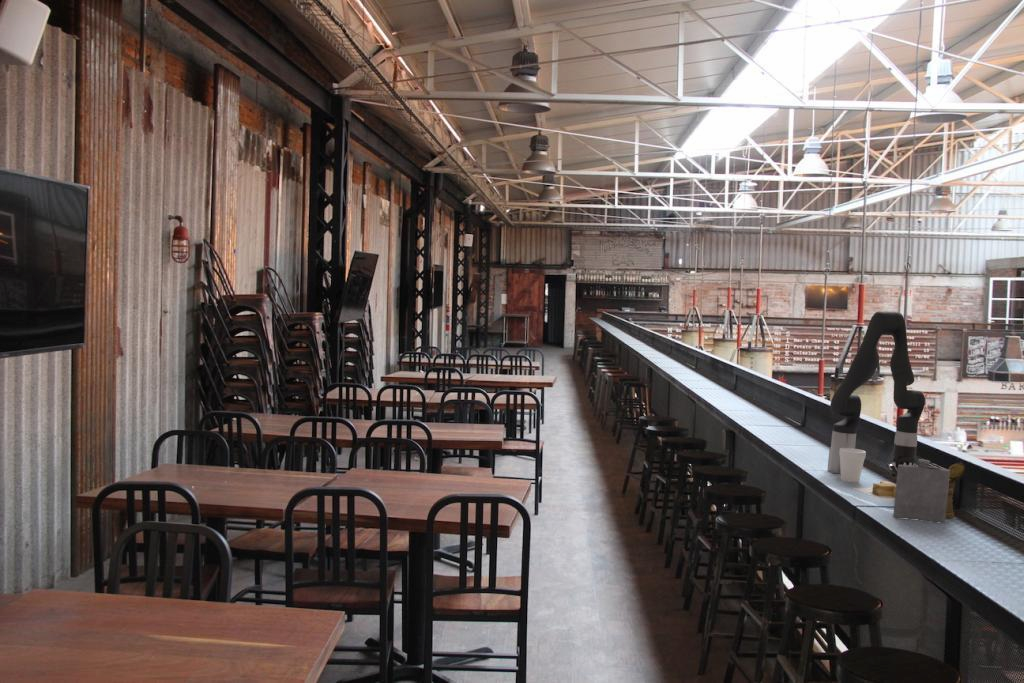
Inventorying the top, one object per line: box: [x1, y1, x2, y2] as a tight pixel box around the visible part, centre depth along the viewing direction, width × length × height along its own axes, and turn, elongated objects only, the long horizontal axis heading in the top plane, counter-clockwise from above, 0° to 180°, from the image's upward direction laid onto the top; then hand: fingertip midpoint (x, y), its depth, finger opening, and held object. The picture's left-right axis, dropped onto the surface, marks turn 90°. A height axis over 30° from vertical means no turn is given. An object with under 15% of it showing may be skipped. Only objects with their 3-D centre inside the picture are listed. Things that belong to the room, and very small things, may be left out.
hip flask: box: [892, 458, 950, 524], centre depth 263 cm, size 16×4×20 cm, turn 80°
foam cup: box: [839, 448, 867, 483], centre depth 313 cm, size 10×9×13 cm
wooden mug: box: [945, 462, 966, 519], centre depth 272 cm, size 9×14×18 cm, turn 114°
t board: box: [851, 487, 895, 502], centre depth 293 cm, size 18×18×1 cm
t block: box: [872, 480, 896, 496], centre depth 293 cm, size 10×9×4 cm
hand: (901, 489), depth 295 cm, fingers closed
